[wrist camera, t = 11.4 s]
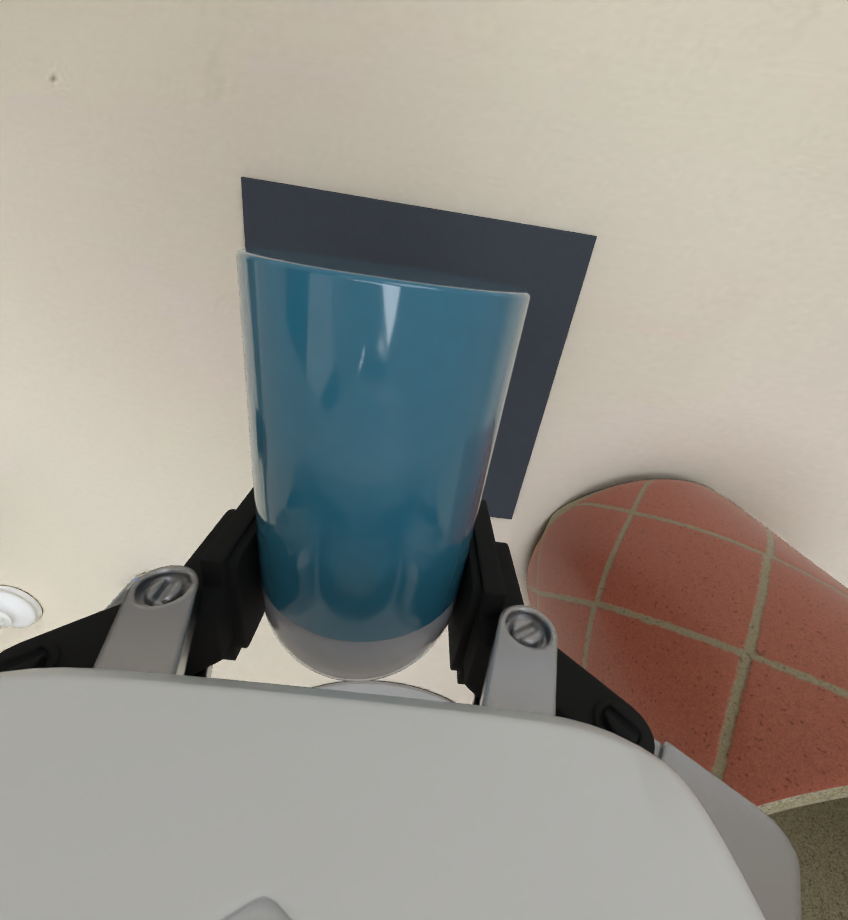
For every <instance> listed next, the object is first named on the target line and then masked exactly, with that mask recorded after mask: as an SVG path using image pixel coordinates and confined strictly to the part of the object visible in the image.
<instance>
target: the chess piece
mask: <svg viewBox="0 0 848 920" xmlns="http://www.w3.org/2000/svg"><path fill="white" fill-rule="evenodd" d="M41 616H42V609H41V607H40V605H39V603H38V602H37V601H36V600H35V599H34V598H33V597H31V596H30V595H29V594H27V593H25V592H23V591H21V590H19V589H16V588H13V587H9V586H0V629H1V628H2V627H13V628H24V627H28V626H30V625H32V624H33V623H34V622H36V621H37V620H39V619H40V618H41Z"/></svg>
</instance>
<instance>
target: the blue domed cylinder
mask: <svg viewBox="0 0 848 920" xmlns="http://www.w3.org/2000/svg"><path fill="white" fill-rule="evenodd" d="M236 258H237V272H238V285H239V298H240V312H241V325H242V338H243V352H244V365H245V379H246V392H247V405H248V419H249V432H250V445H251V459H252V472H253V485H254V499H255V512H256V526H257V539H258V552H259V566H260V578H261V592H262V600H263V606H264V610H265V613H266V616H267V619H268V622H269V625H270V626H271V628H272V630H273V632H274V634H275V636H276V638H277V639H278V641H279V642H280V644H281V645H282V646H283V647H284V648H285V649H286V650H287V652H288V653H289V654H290V655H291V656H292V657H293V658H294V659H296V660H297V661H298V662H299V663H301V664H302V665H303V666H305V667H307V668H308V669H310V670H312V671H314V672H316V673H318V674H321V675H323V676H326V677H329V678H332V679H337V680H342V681H370V680H377V679H380V678H384V677H387V676H389V675H392V674H395V673H397V672H400V671H402V670H403V669H405V668H407V667H408V666H410V665H411V664H413V663H414V662H416V661H417V660H419V659H420V658H421V657H422V656H423V655H424V654H425V653H427V652H428V651H429V650H430V648H431V647H432V646H433V645H434V644H435V643H436V642H437V640H438V639H439V638H440V636H441V635H442V633H443V632H444V630H445V628H446V626H447V625H448V623H449V621H450V618H451V616H452V614H453V611H454V608H455V605H456V601H457V597H458V591H459V588H460V585H461V581H462V576H463V572H464V568H465V564H466V560H467V556H468V552H469V548H470V544H471V539H472V535H473V531H474V527H475V523H476V519H477V515H478V511H479V506H480V502H481V498H482V494H483V490H484V486H485V482H486V478H487V474H488V469H489V465H490V461H491V457H492V453H493V449H494V445H495V441H496V436H497V432H498V428H499V424H500V420H501V416H502V412H503V408H504V404H505V399H506V395H507V391H508V387H509V383H510V379H511V375H512V371H513V366H514V362H515V358H516V354H517V350H518V346H519V342H520V338H521V333H522V329H523V325H524V321H525V317H526V313H527V309H528V305H529V301H530V293H529V292H527V291H526V290H524V289H521V288H517V287H513V286H509V285H505V284H500V283H496V282H491V281H486V280H481V279H475V278H470V277H464V276H459V275H453V274H447V273H441V272H435V271H429V270H423V269H417V268H411V267H404V266H398V265H391V264H384V263H377V262H370V261H363V260H356V259H349V258H341V257H333V256H325V255H317V254H309V253H300V252H290V251H280V250H269V249H251V248H247V249H241V250H238V251H237V254H236Z"/></svg>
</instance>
